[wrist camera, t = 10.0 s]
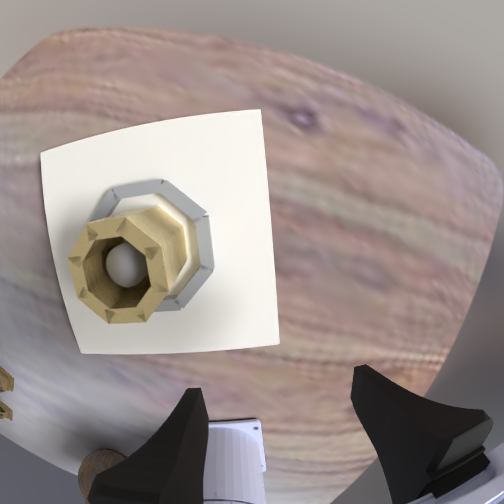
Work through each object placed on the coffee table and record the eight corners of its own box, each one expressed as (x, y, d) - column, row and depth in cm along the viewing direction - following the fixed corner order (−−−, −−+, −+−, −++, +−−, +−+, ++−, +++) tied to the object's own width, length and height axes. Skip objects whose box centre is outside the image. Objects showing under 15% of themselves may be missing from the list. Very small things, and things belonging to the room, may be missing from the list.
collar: (191, 279, 19) (175, 320, 13) (122, 286, 19) (85, 324, 13) (181, 203, 18) (156, 212, 12) (109, 213, 17) (61, 227, 12)
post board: (276, 334, 22) (290, 381, 16) (88, 344, 21) (57, 384, 15) (258, 114, 18) (269, 87, 12) (51, 153, 17) (2, 149, 12)
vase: (94, 433, 24) (70, 490, 15) (149, 460, 25) (136, 519, 17) (84, 455, 25) (64, 504, 16) (132, 479, 26) (120, 530, 18)
